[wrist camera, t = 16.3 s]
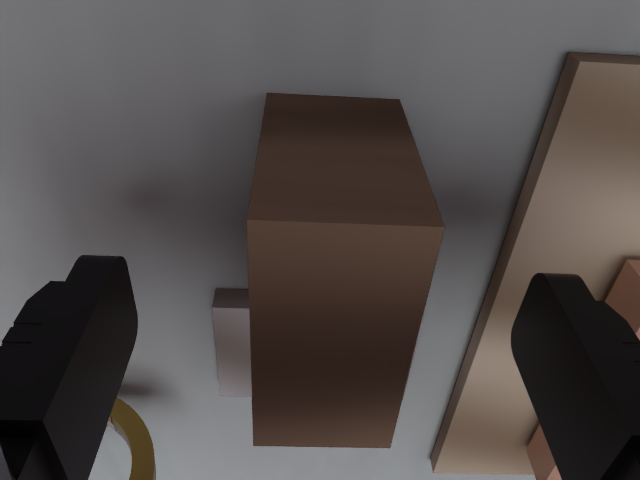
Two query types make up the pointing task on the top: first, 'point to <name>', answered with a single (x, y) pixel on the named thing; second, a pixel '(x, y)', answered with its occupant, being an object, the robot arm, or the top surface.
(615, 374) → the robot arm
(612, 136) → the board
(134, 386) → the top surface
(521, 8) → the top surface
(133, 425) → the ring
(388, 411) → the brown rectangular block
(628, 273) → the tile
